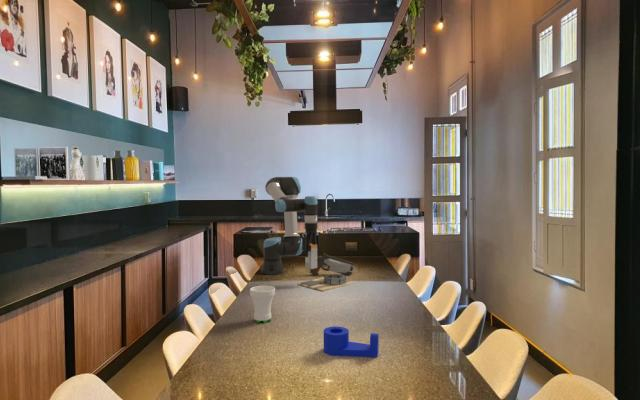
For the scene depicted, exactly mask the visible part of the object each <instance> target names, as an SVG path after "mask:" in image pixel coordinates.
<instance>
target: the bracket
mask: <svg viewBox="0 0 640 400" xmlns="http://www.w3.org/2000/svg"><path fill="white" fill-rule="evenodd" d="M349 331H350V330H349V329H348V328H346V327H344V326H336V325H335V326H328V327H326V328H323V353H324V354H326V355H328V356H333V357H353V358H354V357H357V358H358V357H360V358H378V356H379V346H380V345H379V342H380V341H379V338H380V337H379V333H375V332H374V333H373V332H371V333H370V337H369V343H363V342H355V341H349V340H350V339H349V338H350V336H349V335H350V334H349V333H350V332H349Z"/></svg>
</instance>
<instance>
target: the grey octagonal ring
mask: <svg viewBox="0 0 640 400" xmlns="http://www.w3.org/2000/svg"><path fill="white" fill-rule="evenodd" d="M323 277H324V283H325V284H329V285H342V284H346V281H347V275H344V274H341V273H329V274H325V275H323Z"/></svg>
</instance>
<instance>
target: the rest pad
mask: <svg viewBox="0 0 640 400" xmlns="http://www.w3.org/2000/svg"><path fill="white" fill-rule="evenodd" d="M312 280H313V279H309V280H305V281H306V282H305V281H302V283H301V282H300V283H301V284H305V285H309V286H313V285H317V284H322V283H321V282H317V281H312Z"/></svg>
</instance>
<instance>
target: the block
mask: <svg viewBox="0 0 640 400" xmlns="http://www.w3.org/2000/svg"><path fill="white" fill-rule="evenodd" d="M309 251H310V263H308V262H306V257H305V256H304V259H305V260H304V261H305V263H304V264H305V265H304V268H305V269H309V270H310V269H314V268H317V257H318V250H317V244H313V243H310V245H309Z"/></svg>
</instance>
